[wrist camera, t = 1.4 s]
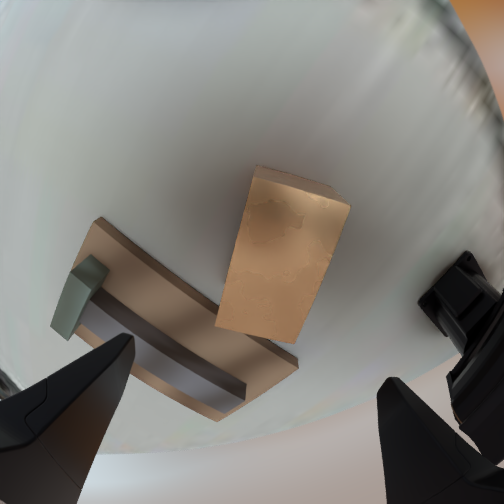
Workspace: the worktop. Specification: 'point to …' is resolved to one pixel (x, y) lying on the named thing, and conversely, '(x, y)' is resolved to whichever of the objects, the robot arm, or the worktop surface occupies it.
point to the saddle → (280, 254)
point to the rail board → (164, 327)
